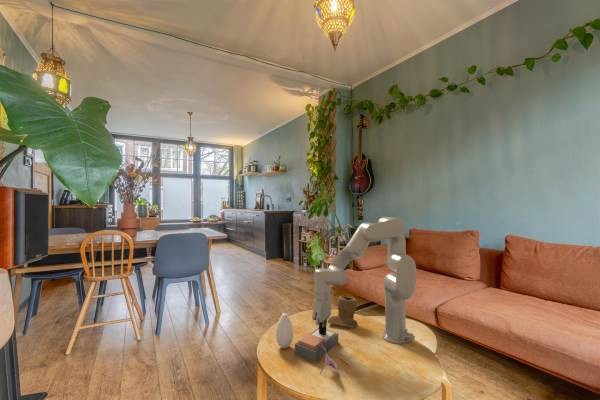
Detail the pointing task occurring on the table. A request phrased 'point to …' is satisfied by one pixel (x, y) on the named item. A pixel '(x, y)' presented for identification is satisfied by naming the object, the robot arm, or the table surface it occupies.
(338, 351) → the table surface
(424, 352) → the table surface
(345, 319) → the brown boot
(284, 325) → the sauce bottle
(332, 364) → the lily
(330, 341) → the key console
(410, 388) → the table surface
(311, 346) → the key terracotta
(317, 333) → the key white
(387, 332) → the robot arm
